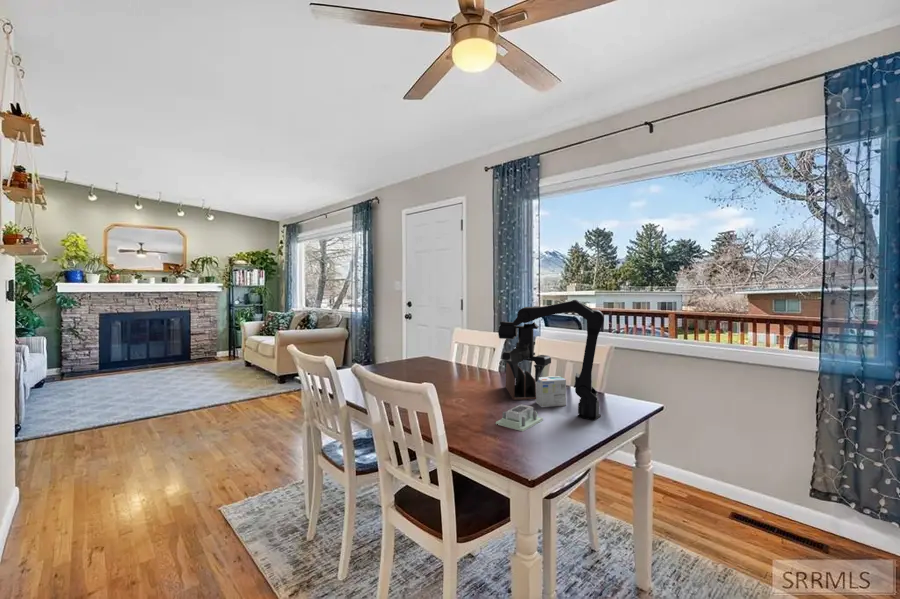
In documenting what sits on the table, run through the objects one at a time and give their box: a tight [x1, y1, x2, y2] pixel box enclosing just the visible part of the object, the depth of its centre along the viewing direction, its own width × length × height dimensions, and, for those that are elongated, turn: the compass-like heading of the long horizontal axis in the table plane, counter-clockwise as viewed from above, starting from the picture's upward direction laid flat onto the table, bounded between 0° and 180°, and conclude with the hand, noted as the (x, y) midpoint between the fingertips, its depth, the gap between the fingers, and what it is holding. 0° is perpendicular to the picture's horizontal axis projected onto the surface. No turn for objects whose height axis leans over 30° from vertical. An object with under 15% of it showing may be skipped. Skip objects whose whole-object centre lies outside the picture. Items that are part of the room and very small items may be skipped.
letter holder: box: [505, 362, 536, 401], centre depth 186 cm, size 10×20×14 cm, turn 2°
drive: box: [505, 403, 534, 425], centre depth 150 cm, size 5×10×4 cm, turn 140°
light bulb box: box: [535, 375, 567, 408], centre depth 170 cm, size 11×7×11 cm, turn 100°
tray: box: [495, 405, 544, 432], centre depth 150 cm, size 11×14×4 cm
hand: (525, 379), depth 162 cm, fingers open, 9 cm apart
